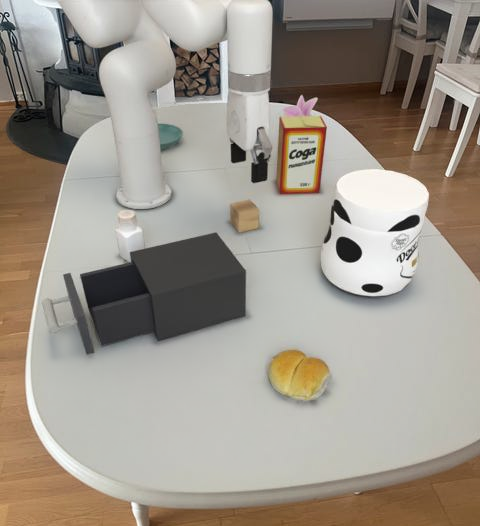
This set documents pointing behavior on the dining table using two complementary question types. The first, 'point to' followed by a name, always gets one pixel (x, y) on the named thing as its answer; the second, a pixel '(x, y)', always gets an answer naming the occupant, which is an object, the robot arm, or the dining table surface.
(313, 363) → the bread roll
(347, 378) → the dining table surface
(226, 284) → the cabinet
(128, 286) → the drawer
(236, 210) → the block
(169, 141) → the saucer
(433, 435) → the dining table surface
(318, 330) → the dining table surface
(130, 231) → the salt shaker
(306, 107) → the lily
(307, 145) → the baking soda box
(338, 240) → the milk container
